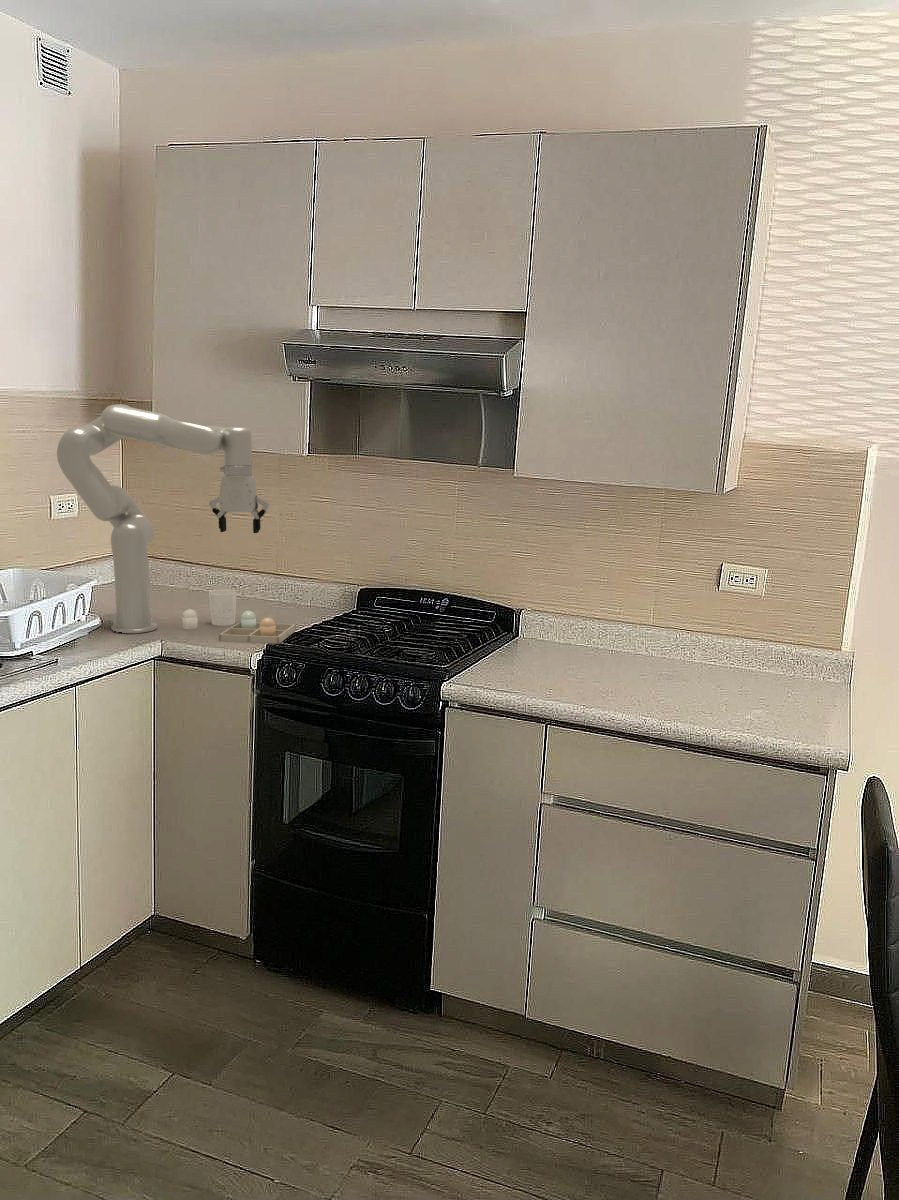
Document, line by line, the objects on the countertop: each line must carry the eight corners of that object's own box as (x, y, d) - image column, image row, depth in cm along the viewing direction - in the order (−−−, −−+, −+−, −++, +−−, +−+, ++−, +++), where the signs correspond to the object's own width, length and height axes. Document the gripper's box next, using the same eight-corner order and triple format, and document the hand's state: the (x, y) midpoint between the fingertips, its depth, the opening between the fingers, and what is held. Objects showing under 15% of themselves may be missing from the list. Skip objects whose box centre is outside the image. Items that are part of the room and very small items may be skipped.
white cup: (222, 629, 304) (221, 595, 302) (204, 625, 309) (202, 592, 307) (242, 625, 310) (241, 591, 308) (224, 621, 315) (223, 588, 313)
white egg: (180, 631, 301) (179, 610, 300) (186, 628, 305) (185, 607, 304) (194, 632, 300) (194, 611, 299) (200, 628, 304) (199, 608, 303)
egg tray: (219, 643, 287) (218, 634, 286) (239, 630, 303) (238, 621, 303) (279, 645, 285) (278, 637, 284) (295, 632, 301) (295, 624, 301)
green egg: (239, 633, 297) (238, 612, 295) (244, 630, 301) (243, 609, 299) (253, 633, 296) (253, 612, 295) (258, 630, 300) (257, 609, 299)
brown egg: (258, 640, 288) (257, 618, 287) (262, 637, 292) (262, 615, 291) (273, 641, 287) (272, 619, 286) (277, 638, 291) (277, 616, 290)
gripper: (204, 471, 294) (205, 532, 297) (264, 473, 291) (265, 534, 295) (213, 470, 301) (215, 529, 304) (272, 471, 299) (273, 531, 302)
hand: (239, 532), depth 299 cm, fingers open, 9 cm apart
